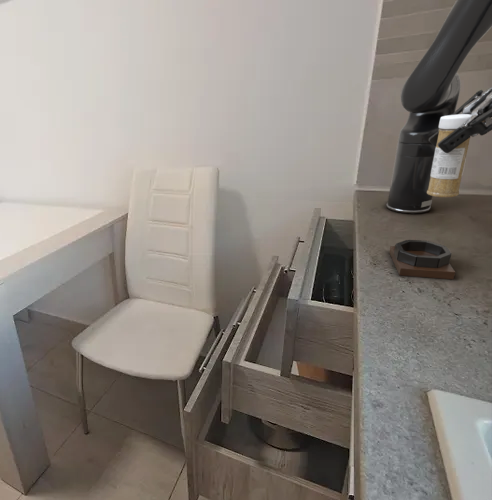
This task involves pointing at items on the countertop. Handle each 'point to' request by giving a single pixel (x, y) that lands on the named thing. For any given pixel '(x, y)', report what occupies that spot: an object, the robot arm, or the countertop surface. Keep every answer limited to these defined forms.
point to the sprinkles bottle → (448, 160)
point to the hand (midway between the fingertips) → (437, 146)
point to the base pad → (422, 259)
